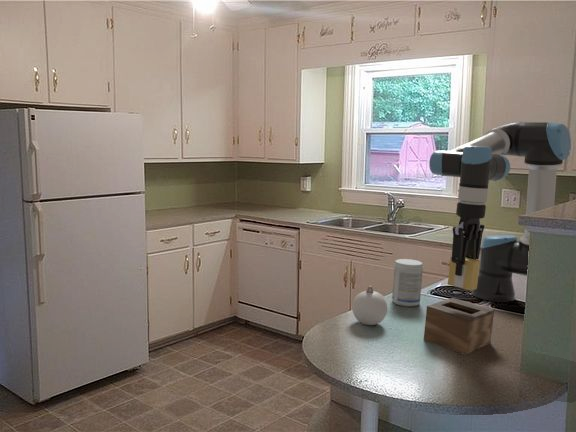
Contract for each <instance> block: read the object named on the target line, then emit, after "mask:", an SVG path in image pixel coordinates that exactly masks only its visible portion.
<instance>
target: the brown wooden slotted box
mask: <svg viewBox="0 0 576 432" xmlns="http://www.w3.org/2000/svg"><path fill="white" fill-rule="evenodd" d="M494 316H495V309H494V308H491V307H490V308H489V307H486V306H482V305H480V304H476V303H472V302H469V301H465V300H463V299H459V298H454V297H451V298H448V299H445V300H441V301H438V302H435V303H431V304H429V305H426V313H425V320H424V321H425V322H424V330H423V331H424V333H423V341H425V342H428V343H432V344H434V345H437V346H440V347H443V348H445V349H448V348H449V349H448V350H450V349H451V351H453V350H454V352H456V351H457V352H456V353H459V352H460V353H459V354H461V353H463V354H462V355H464V354H465V355H464V356H467V355H469V354H471V353H473V352H475V351H477V350H479V349H481V347H482V348H483V347H486V346H488V345H490V344H491V341H492V340H491V339H492V334H493V333H492V332H493V323H494ZM476 349H477V350H476ZM474 350H475V351H474ZM472 351H473V352H472ZM470 352H471V353H470ZM468 353H469V354H468ZM466 354H467V355H466Z"/></svg>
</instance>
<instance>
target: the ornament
mask: <svg viewBox="0 0 576 432" xmlns="http://www.w3.org/2000/svg"><path fill="white" fill-rule="evenodd" d="M387 313H388V302H387V300H386V299H385V297H384V296H383V295H382V294H381V293H379V292H378V291H376V290H373V287H372V285H368V287H367V289H366V290H364V291H362V292H358V294H357V295H356V296H355V297H354V300H353V301H352V314H353V316H354V318H355V319H356V320H357V321H358V322H359V323H360V324H363V325H366V326H375V325H378V324H379V323H382V322H383V321H384V319H385V318H386V317H387Z"/></svg>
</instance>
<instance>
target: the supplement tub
mask: <svg viewBox="0 0 576 432" xmlns="http://www.w3.org/2000/svg"><path fill="white" fill-rule="evenodd" d="M392 282H393V283H392V296H391V300H392V302H393V304H394V305H395V304H396V305H397V306H402V307H416V306H419V305H420V304H421V296H422V295H421V294H422V282H423V262H421V261H419V260H416V259H410V258H409V259H408V258H400V259H396V260H394V268H393V281H392Z"/></svg>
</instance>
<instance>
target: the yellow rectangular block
mask: <svg viewBox="0 0 576 432" xmlns="http://www.w3.org/2000/svg"><path fill="white" fill-rule="evenodd" d="M449 260H450V261H449V270H448V276H447V277H448V279H447V285H449V286H453V287H455V288H458V289H463V290H466V291H471V292H472V290H474V289H477V283H478V275H479V266H480V259H476V260H475V259H470V258H466V259H465V265H466V272H465V281H464V288H460V287H457V286H454V277H455V268H456V263H453V262H452V256H450V259H449Z"/></svg>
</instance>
